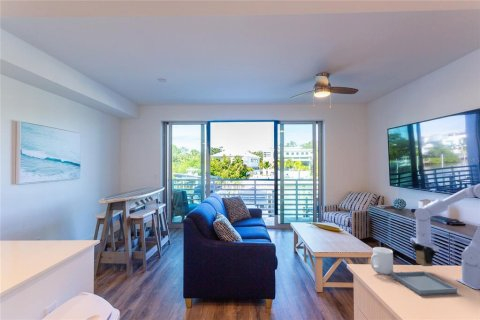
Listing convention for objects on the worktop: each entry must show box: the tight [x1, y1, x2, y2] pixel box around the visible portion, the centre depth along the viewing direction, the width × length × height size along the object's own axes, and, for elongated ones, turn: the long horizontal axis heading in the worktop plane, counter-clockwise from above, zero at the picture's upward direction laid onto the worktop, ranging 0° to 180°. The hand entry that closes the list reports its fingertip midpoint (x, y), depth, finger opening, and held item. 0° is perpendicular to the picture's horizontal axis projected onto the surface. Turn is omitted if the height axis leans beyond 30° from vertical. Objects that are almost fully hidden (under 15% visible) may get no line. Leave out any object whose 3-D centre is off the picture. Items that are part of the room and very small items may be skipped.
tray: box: [390, 270, 458, 297], centre depth 104 cm, size 16×16×2 cm
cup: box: [370, 246, 394, 275], centre depth 118 cm, size 8×12×10 cm
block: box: [415, 250, 434, 267], centre depth 117 cm, size 4×4×6 cm
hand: (424, 261), depth 117 cm, fingers closed on block, 4 cm apart
